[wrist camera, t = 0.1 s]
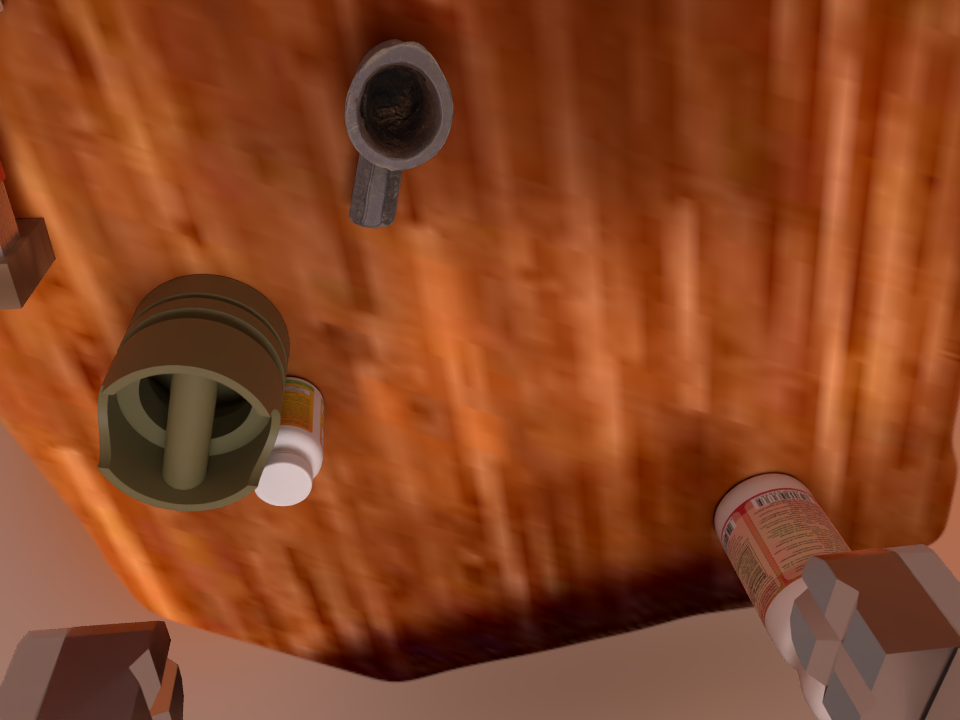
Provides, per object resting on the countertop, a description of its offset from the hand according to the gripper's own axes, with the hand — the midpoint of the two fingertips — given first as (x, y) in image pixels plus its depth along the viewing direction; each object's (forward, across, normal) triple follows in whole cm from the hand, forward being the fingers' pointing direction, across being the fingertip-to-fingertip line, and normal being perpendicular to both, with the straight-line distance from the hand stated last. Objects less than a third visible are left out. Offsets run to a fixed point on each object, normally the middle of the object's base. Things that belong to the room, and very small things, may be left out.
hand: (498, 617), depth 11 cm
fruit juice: (+48, -33, +46) cm, 74 cm away
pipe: (+48, 0, +7) cm, 49 cm away
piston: (+48, +14, +24) cm, 55 cm away
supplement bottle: (+48, +9, +30) cm, 57 cm away
